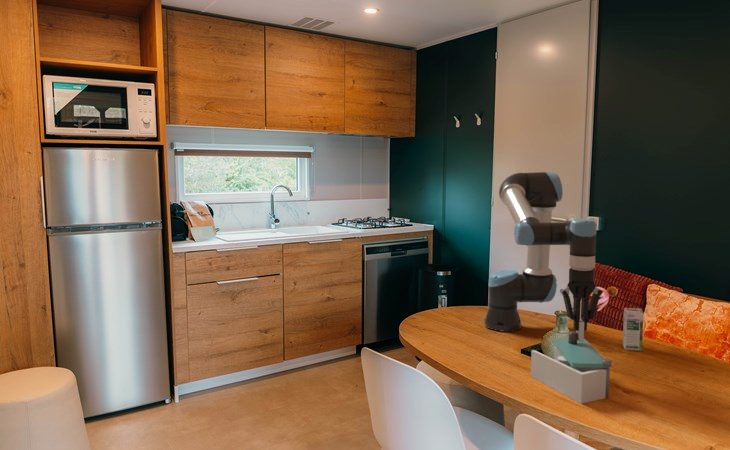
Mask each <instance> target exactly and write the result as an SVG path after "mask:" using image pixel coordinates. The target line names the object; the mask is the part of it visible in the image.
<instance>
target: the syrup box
mask: <svg viewBox="0 0 730 450" xmlns="http://www.w3.org/2000/svg"><path fill="white" fill-rule="evenodd" d="M622 324H623V328H622V331H623V332H622V346H623V348H624V350H627V351H628V350H629V351H638V352H642V351H643V337H644V336H643V334H644V311H643V309H642V308H631V307H629V308H628V307H624V308H623V323H622Z"/></svg>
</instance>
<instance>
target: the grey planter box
mask: <svg viewBox="0 0 730 450" xmlns="http://www.w3.org/2000/svg"><path fill="white" fill-rule="evenodd" d="M553 353H554V354H553V358H552V357H550V356H548V355H546V354H543V353H541V352H539V351H537V350H535V349H532V350H531V353H530V356H531V357H530V360H531V362H530V377H531V378H533V379H535V380H536V381H538V382H540V383H542V384H544V385H545V386H548V387H550V388H551V389H553V390H555V391H557V392H559V393H560V394H562V395H564V396H566V397H568V398H570V399H571V400H572V401H575V402H577V403H579V404H580V405H581V404H586V403H591V402H594V401H598V400H599V401H600V400H603V399H609V396H610V377H611V376H610V372H611V368H610V367H609V368H588V367H573V368H571V367H569V366H567V365H565V364H563V363H561V362H559V361H557V358H558V357H559V356H563V355H562V353H561V352H560V351H559V350H558V348H557V347H556V346H555V345H554V346H553Z"/></svg>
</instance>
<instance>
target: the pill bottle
mask: <svg viewBox="0 0 730 450" xmlns="http://www.w3.org/2000/svg"><path fill="white" fill-rule="evenodd" d="M557 361H559V362H561V363H563V364H565V365H567V366H569V367H571V368H573V367H572V366H571V365H570V364H569V362H568V361H567V360H566V359H565V357H564V356H559V357H558V358H557Z"/></svg>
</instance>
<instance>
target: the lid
mask: <svg viewBox="0 0 730 450" xmlns="http://www.w3.org/2000/svg"><path fill="white" fill-rule="evenodd" d="M552 343H553V345H554V346H556V347H557V348H558V350H559V351H560V352H561V353H562V355H563V356H564V357H565V359H566V360H567V361H568V362H569V364H570V365H571V366H572V367H588V368H610V367H611V368H612V365H613V363H612V362H613V360H611V359H609V358H604V357H603V355H602V354H600V352H599V351H598V350H596V348H594V346H593V345H592V344H591V343H589V342H588V341H587V339H585V338H584V342H579V341H578V340H577V332H576V331H575V330H574V331H571V330H570V331H568V338H552Z"/></svg>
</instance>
